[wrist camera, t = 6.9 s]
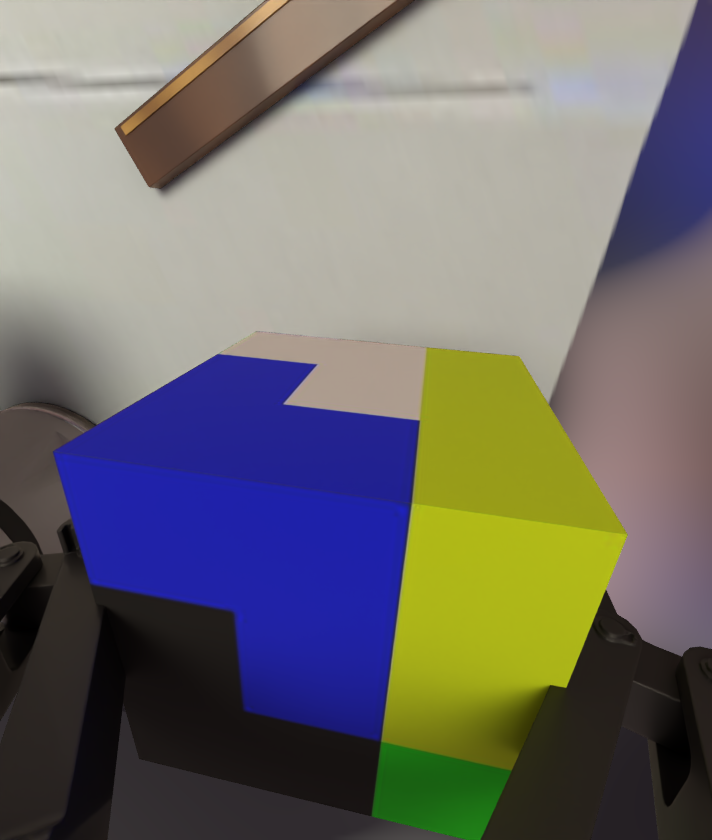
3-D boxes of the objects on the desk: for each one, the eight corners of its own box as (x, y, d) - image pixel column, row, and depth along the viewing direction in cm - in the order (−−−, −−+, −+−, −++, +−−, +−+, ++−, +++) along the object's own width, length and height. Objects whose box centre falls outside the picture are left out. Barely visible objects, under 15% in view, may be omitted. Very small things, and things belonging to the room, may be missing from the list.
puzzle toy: (256, 331, 17) (52, 451, 8) (519, 356, 16) (627, 534, 7) (266, 532, 21) (139, 759, 12) (473, 566, 20) (501, 848, 11)
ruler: (160, 189, 27) (147, 187, 26) (127, 132, 26) (112, 127, 25) (642, -168, 18) (655, -195, 17) (619, -278, 17) (632, -316, 16)
